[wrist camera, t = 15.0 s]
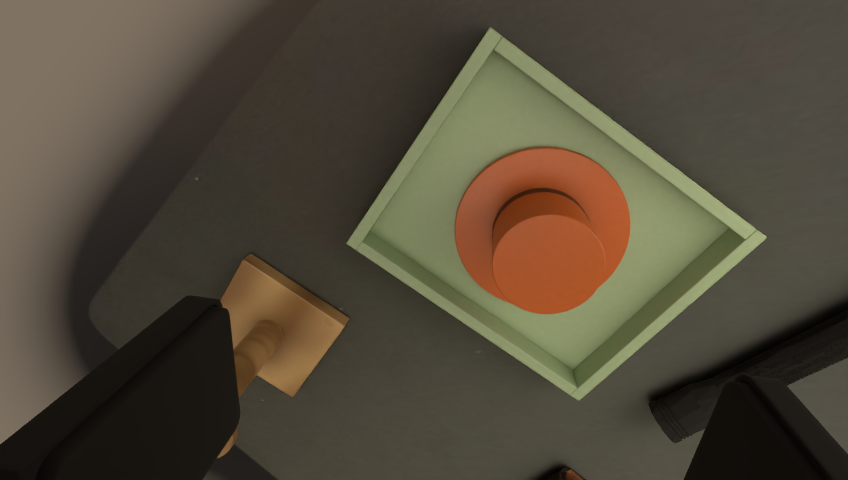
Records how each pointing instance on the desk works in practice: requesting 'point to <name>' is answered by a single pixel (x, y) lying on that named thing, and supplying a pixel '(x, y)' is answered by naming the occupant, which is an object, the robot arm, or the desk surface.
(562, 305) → the small hat
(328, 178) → the desk surface
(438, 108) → the tray
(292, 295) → the hat stand
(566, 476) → the sunglasses case
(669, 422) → the flashlight
